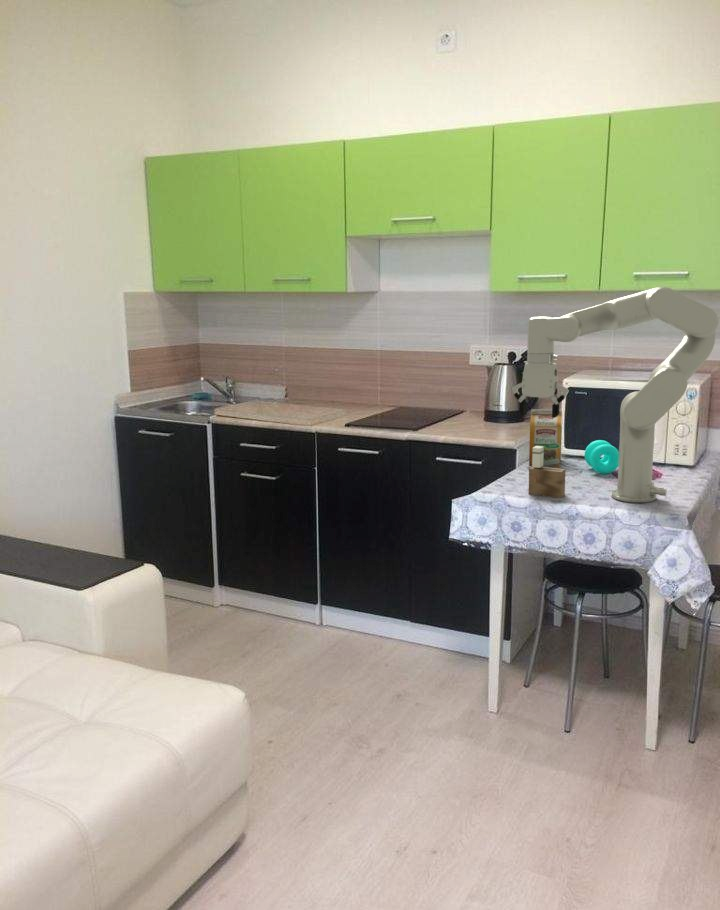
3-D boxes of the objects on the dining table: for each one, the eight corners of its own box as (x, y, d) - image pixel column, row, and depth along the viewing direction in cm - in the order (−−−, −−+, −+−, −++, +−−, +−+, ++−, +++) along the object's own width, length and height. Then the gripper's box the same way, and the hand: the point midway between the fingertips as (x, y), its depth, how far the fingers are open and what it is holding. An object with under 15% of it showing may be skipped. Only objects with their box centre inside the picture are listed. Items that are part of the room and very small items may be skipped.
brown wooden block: (564, 494, 242) (565, 468, 240) (560, 498, 238) (561, 471, 236) (533, 490, 247) (533, 465, 245) (528, 494, 243) (528, 468, 242)
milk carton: (529, 465, 279) (530, 412, 275) (531, 458, 289) (532, 407, 285) (560, 466, 277) (561, 412, 272) (560, 459, 286) (562, 407, 282)
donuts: (590, 475, 264) (591, 445, 262) (583, 468, 274) (584, 439, 272) (620, 474, 264) (622, 445, 262) (612, 467, 273) (613, 438, 271)
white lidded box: (543, 465, 243) (543, 446, 242) (539, 467, 240) (540, 448, 239) (535, 464, 244) (536, 445, 243) (531, 467, 241) (532, 447, 240)
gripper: (573, 358, 234) (571, 415, 237) (516, 356, 243) (516, 412, 246) (565, 361, 227) (563, 420, 231) (507, 359, 236) (507, 416, 240)
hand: (539, 415), depth 239 cm, fingers open, 9 cm apart
